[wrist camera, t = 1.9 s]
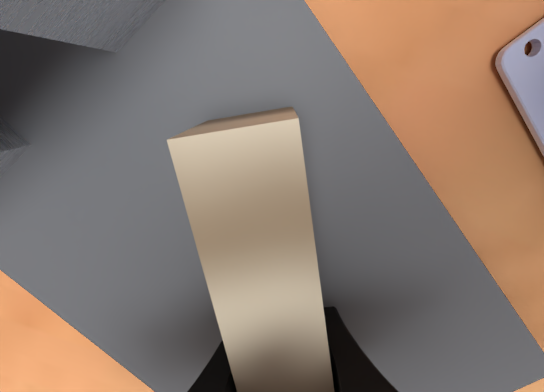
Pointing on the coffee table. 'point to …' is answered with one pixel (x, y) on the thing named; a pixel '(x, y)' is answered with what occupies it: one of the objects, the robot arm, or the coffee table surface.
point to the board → (173, 216)
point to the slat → (257, 247)
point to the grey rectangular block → (69, 37)
